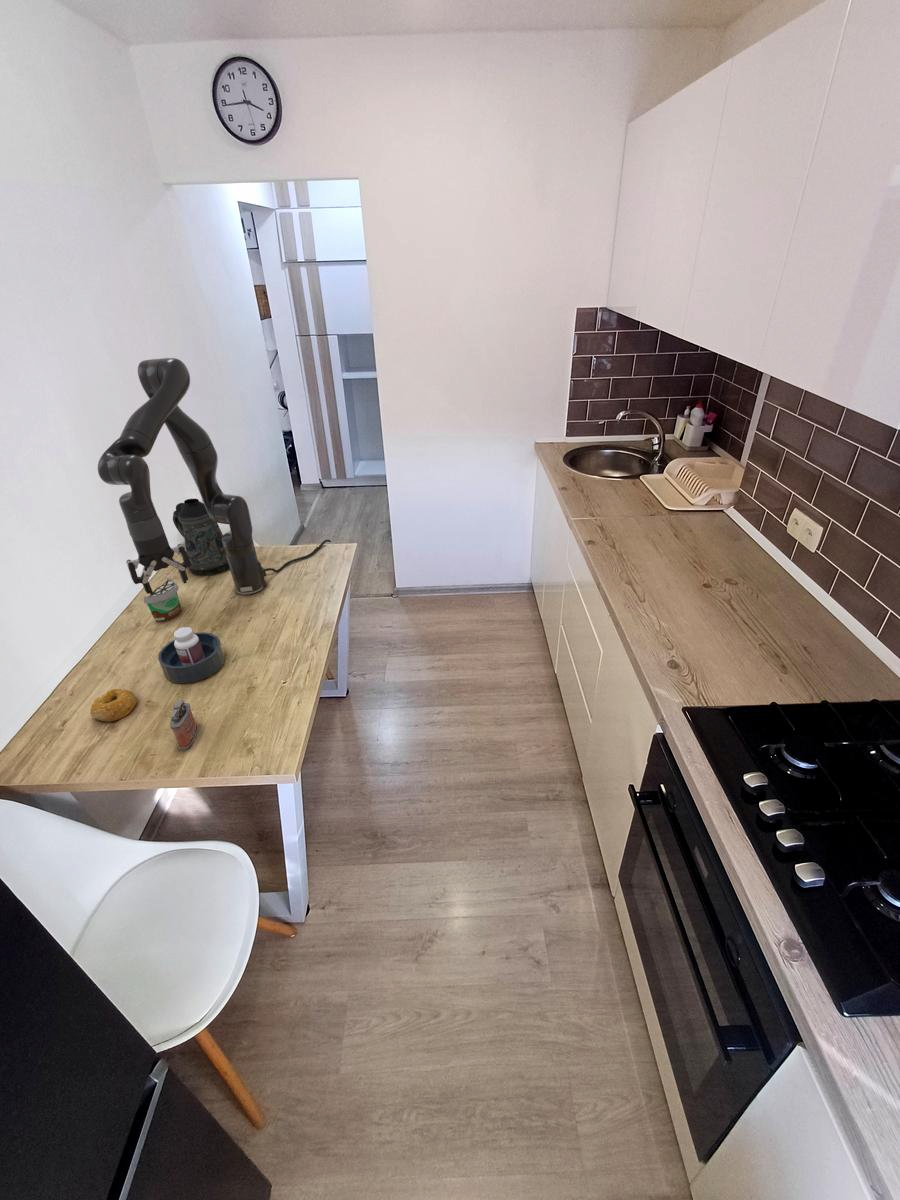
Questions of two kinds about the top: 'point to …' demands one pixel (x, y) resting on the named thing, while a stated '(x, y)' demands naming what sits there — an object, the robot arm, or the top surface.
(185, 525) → the beer stein
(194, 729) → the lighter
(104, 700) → the bagel
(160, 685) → the top surface
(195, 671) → the bowl
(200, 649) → the pill bottle
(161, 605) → the food container
